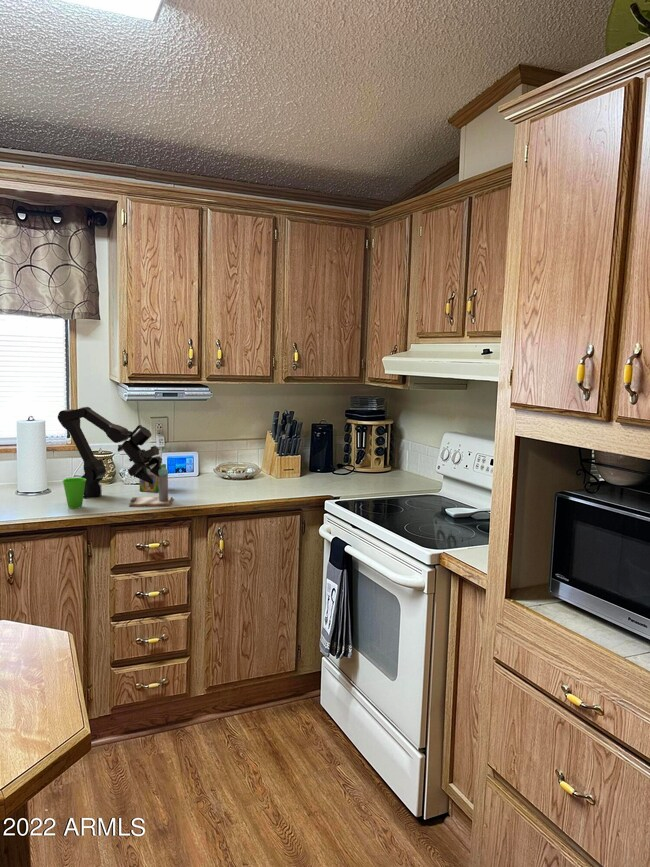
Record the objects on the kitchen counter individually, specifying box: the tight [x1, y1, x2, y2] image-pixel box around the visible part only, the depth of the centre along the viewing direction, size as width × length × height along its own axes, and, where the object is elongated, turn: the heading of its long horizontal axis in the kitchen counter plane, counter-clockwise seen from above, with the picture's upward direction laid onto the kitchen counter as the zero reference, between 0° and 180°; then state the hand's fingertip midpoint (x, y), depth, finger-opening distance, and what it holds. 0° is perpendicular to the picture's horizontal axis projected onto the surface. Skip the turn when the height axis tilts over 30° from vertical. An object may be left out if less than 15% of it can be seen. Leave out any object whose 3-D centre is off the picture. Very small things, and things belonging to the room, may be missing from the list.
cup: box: [61, 477, 86, 509], centre depth 261 cm, size 9×9×11 cm
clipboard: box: [128, 496, 173, 508], centre depth 272 cm, size 16×13×2 cm
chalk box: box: [138, 456, 167, 493], centre depth 294 cm, size 9×9×15 cm
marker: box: [158, 468, 169, 502], centre depth 270 cm, size 4×4×13 cm
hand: (158, 481), depth 271 cm, fingers open, 9 cm apart
